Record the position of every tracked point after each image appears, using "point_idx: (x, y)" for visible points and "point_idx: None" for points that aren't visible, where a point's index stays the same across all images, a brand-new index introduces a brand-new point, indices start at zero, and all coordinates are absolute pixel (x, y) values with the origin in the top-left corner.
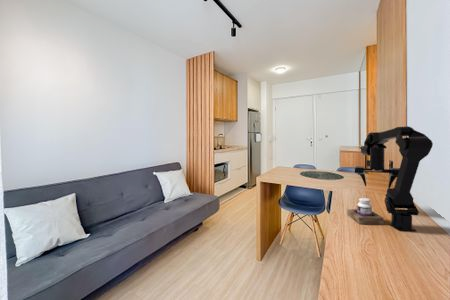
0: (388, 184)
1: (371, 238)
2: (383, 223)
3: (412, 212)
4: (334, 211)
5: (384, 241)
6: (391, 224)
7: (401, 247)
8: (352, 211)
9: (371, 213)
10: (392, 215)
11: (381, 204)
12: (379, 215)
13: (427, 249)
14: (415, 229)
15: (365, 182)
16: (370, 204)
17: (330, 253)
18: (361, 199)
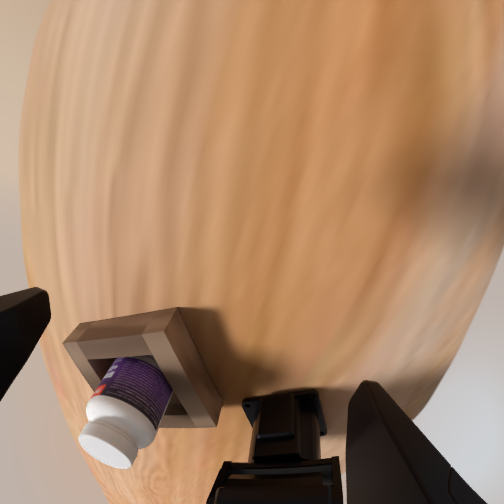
0: (369, 446)
1: (164, 465)
2: (221, 404)
3: (328, 481)
4: (29, 278)
5: (193, 474)
6: (250, 414)
7: None
8: (86, 369)
9: (165, 410)
10: (256, 438)
11: (346, 17)
12: (204, 408)
13: None
14: (325, 433)
15: (6, 381)
16: (146, 436)
17: (100, 483)
18: (91, 452)
